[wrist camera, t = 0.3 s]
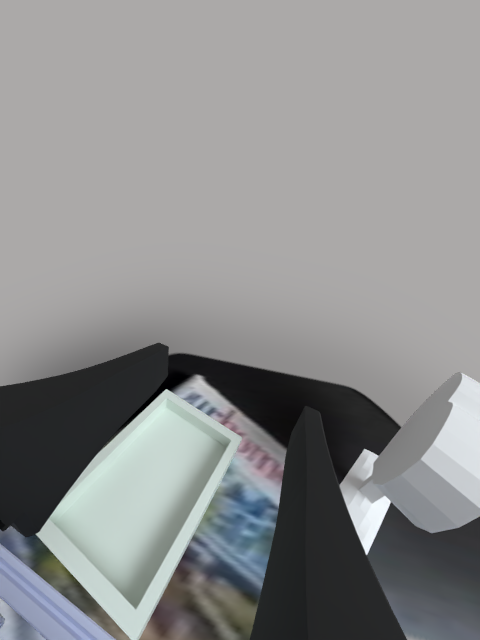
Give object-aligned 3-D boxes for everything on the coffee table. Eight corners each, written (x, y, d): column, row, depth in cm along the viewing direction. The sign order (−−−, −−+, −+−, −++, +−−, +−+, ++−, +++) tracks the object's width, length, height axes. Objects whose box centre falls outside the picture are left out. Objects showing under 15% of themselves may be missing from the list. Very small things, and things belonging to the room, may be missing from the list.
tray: (137, 643, 16) (134, 643, 15) (35, 531, 19) (25, 522, 18) (237, 448, 29) (242, 437, 27) (165, 401, 32) (166, 389, 30)
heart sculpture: (356, 578, 21) (533, 522, 11) (313, 522, 24) (424, 438, 14) (404, 471, 31) (522, 390, 21) (369, 441, 34) (459, 356, 24)
